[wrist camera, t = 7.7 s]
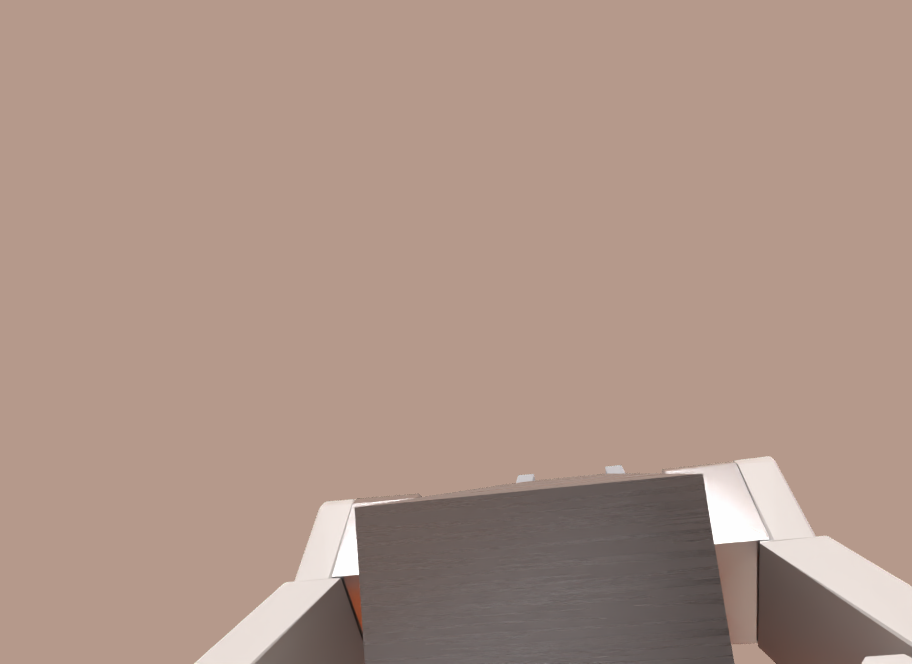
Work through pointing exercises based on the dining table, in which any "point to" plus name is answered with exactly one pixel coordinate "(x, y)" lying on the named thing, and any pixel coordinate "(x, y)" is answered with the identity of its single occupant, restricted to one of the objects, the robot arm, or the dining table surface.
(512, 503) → the dark gray bar
